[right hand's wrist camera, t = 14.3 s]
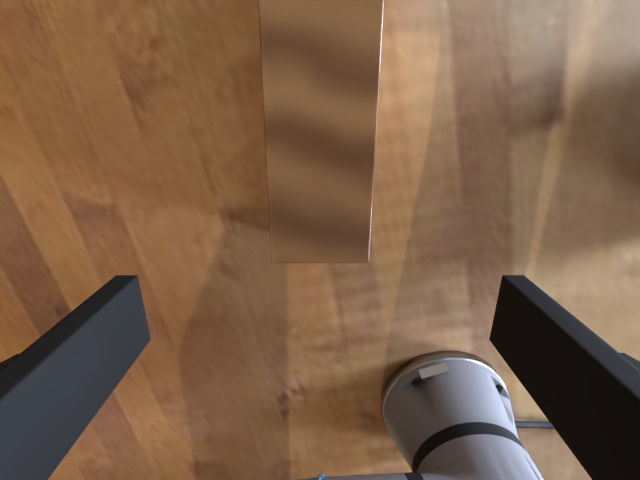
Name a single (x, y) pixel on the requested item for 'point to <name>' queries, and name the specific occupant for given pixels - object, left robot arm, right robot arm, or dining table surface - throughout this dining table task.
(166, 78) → the dining table surface
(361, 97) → the long beam
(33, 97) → the dining table surface
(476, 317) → the dining table surface
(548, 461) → the dining table surface
